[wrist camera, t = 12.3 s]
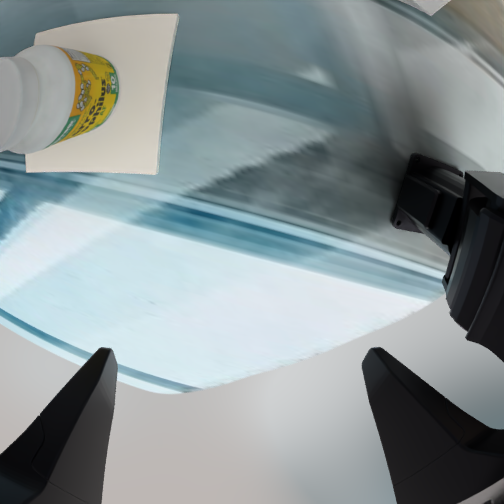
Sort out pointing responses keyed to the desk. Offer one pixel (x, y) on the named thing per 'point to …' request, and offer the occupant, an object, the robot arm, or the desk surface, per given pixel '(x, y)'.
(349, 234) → the desk surface
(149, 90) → the off-white coaster
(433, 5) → the die
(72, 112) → the supplement bottle
